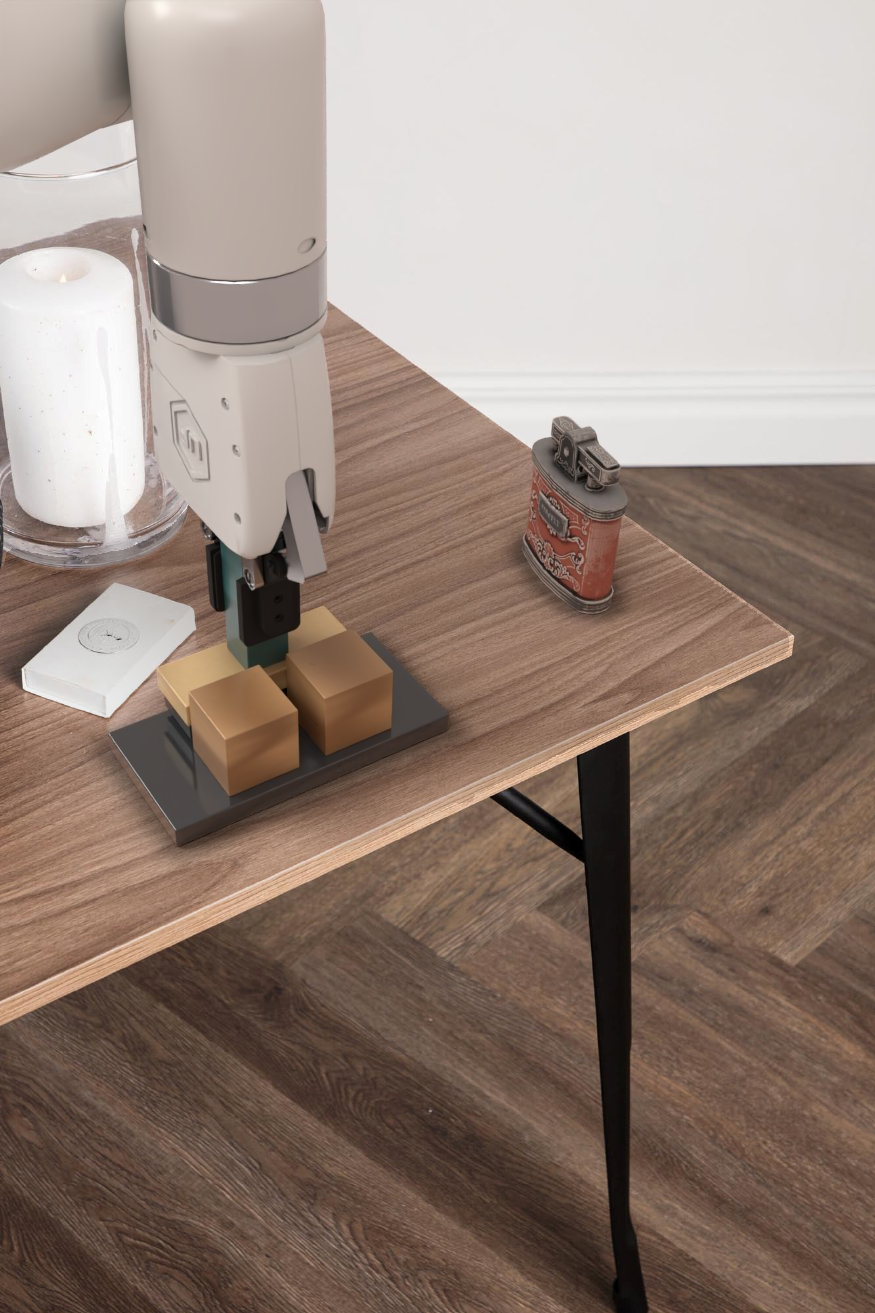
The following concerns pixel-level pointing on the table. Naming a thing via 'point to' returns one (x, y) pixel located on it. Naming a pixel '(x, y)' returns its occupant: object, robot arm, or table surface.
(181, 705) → the rubber stamp
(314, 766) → the board
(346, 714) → the brown cube
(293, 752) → the tan wooden cube
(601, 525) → the lighter
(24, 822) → the table surface
